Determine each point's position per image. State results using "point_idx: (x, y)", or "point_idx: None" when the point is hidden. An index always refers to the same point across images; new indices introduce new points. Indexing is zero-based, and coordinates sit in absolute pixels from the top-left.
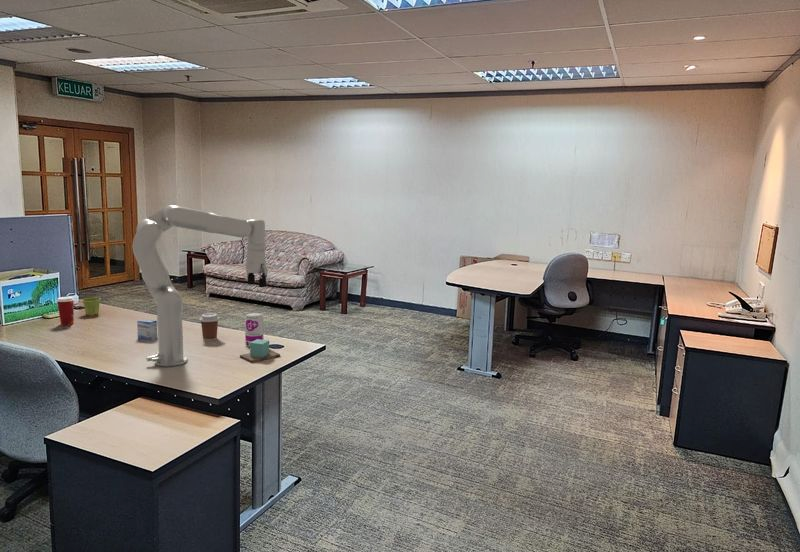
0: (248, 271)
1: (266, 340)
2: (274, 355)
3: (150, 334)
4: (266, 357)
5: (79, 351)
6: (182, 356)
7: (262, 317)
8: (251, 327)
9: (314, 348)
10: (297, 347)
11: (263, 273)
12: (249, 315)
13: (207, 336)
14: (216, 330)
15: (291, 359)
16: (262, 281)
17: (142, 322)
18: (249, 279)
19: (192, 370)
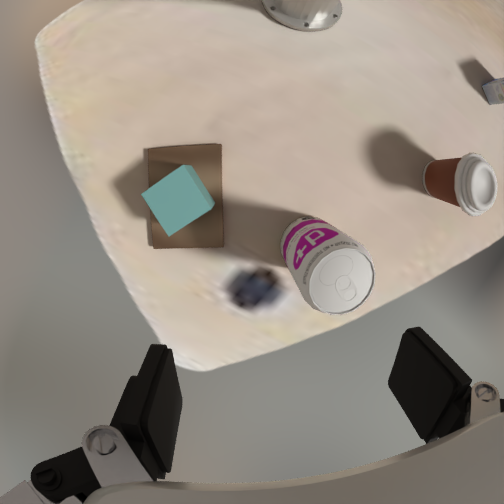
0: (463, 434)
1: (173, 228)
2: (152, 229)
3: (490, 83)
4: None
5: None
6: (284, 7)
7: (309, 303)
8: (305, 239)
9: None
10: (206, 328)
11: (37, 483)
12: (346, 258)
13: (433, 164)
14: (439, 192)
15: (116, 257)
16: (120, 409)
17: None
18: (426, 365)
19: (201, 10)
